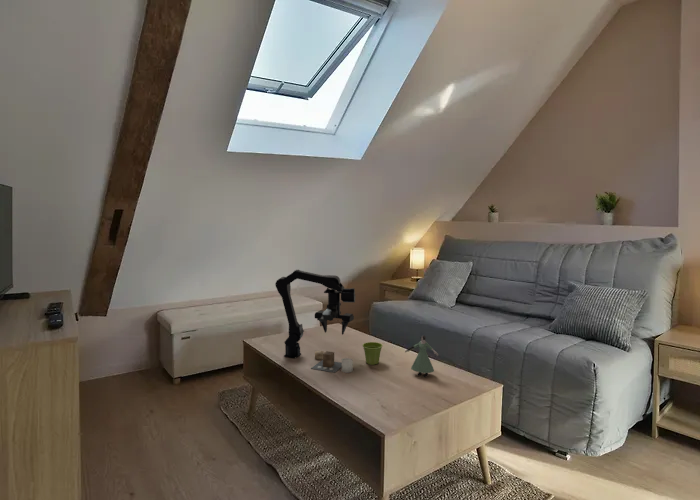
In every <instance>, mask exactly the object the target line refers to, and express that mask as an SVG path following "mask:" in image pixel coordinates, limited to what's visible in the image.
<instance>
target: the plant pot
mask: <svg viewBox="0 0 700 500" xmlns="http://www.w3.org/2000/svg"><path fill="white" fill-rule="evenodd" d="M362 347H363V351H364V357H365V358H364V359H365V363H366V364H367V365H371V366H374V365H378V364H379V363H380V357H381V352H382V348H383V343H380V342H376V341H368V342H364V343H363V344H362Z"/></svg>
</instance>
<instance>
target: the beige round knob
mask: <svg viewBox="0 0 700 500" xmlns="http://www.w3.org/2000/svg"><path fill="white" fill-rule="evenodd" d="M323 353H325V351H323V350H317V351H316V350H315V352H314V360H316V361H317V360H318V361H322V360H323Z"/></svg>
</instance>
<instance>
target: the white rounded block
mask: <svg viewBox="0 0 700 500" xmlns="http://www.w3.org/2000/svg"><path fill="white" fill-rule="evenodd" d="M353 361H354V360H353V358H349V357H345V358H342V359H341V363H342V367H341V372H342V373H346V374H349V373H353V371H354V367H353V365H354V363H353Z"/></svg>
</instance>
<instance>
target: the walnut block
mask: <svg viewBox="0 0 700 500" xmlns="http://www.w3.org/2000/svg"><path fill="white" fill-rule="evenodd" d="M322 360H323V366H324V367H330V368H331V367H332V366H333V365H334V362H335V352H334V351H328V350H326V351H324V353H323V359H322Z"/></svg>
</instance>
